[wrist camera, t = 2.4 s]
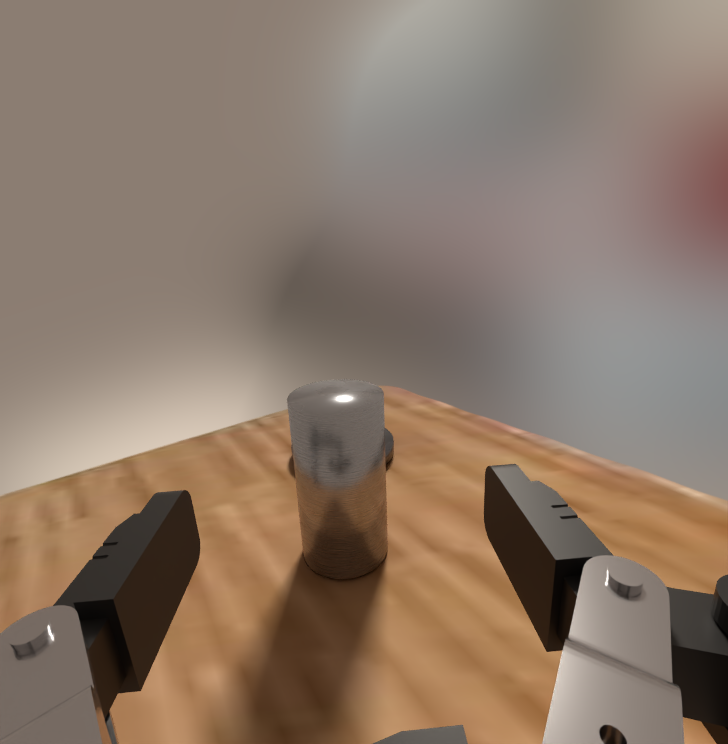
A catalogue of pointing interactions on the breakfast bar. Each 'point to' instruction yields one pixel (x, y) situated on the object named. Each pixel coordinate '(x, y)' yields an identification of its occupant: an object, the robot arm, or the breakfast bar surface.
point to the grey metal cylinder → (340, 475)
